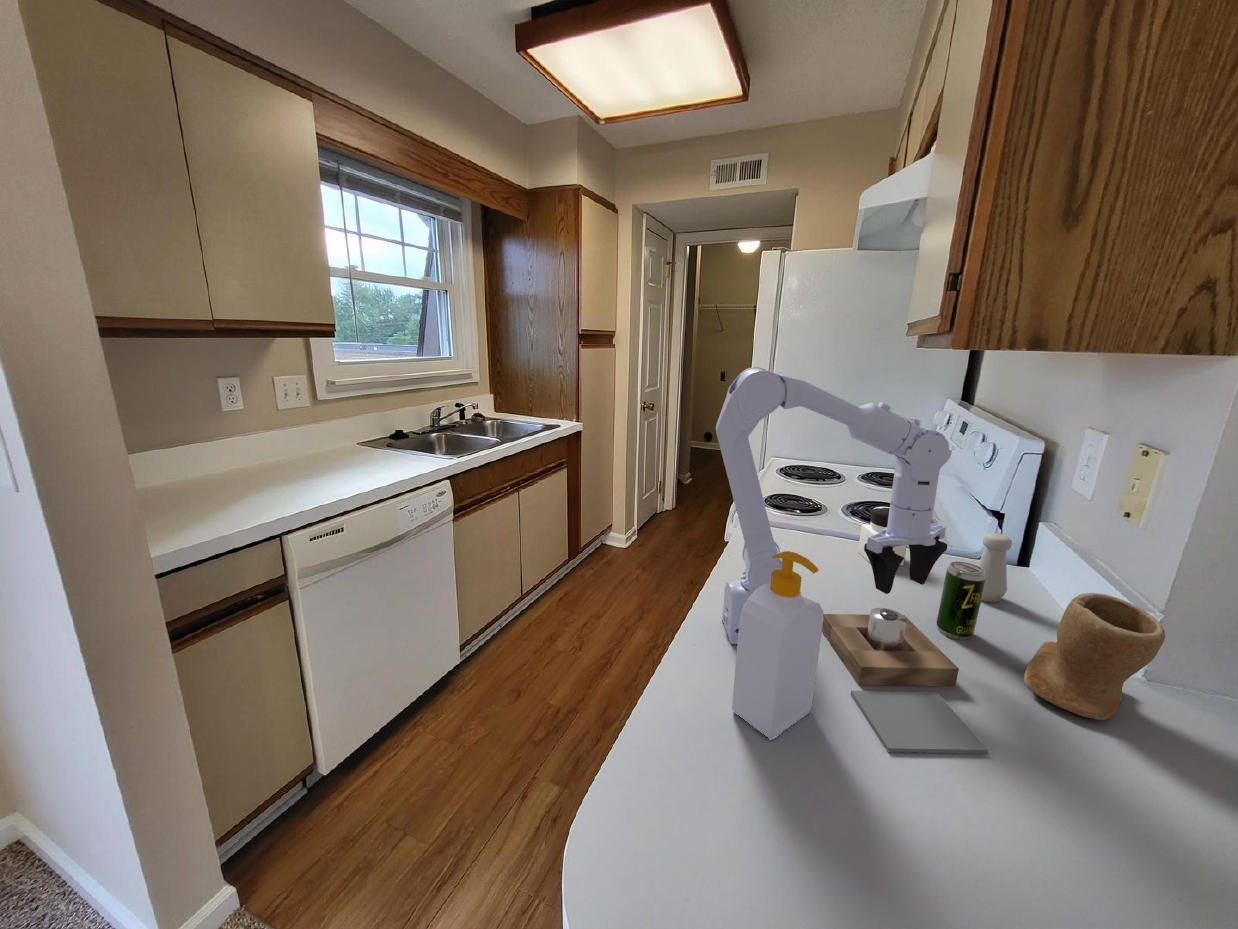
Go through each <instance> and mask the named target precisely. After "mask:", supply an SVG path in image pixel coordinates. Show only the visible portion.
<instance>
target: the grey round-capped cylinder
mask: <svg viewBox="0 0 1238 929" xmlns="http://www.w3.org/2000/svg"><path fill="white" fill-rule="evenodd" d="M869 615H870V618H869V625H868V631H867V637H866V640H867V642H868V643H869V644H870V645H871V647H872V648H873V649H874V650H875V651H902V646H903V640H904V635H905V629H906V624H907V619H906V618H905V616H906V615H905V616H903V615H904V614H902V613H901V612H898V611H896V610H893V609H891V608H885V607H875V608H873V609H870V613H869Z"/></svg>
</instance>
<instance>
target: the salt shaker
mask: <svg viewBox="0 0 1238 929" xmlns="http://www.w3.org/2000/svg"><path fill="white" fill-rule="evenodd" d="M982 544H983V546H985V548H984V551H983V552H982V555H981V557H980V560H979V562H978V564H977V566H979V567H981V568H983V569H984V570H985V577H986V581H985V585H984V590H983V594H982V599H981V602H983V603H984V602H985V603H990V604H991V603H992V604H995V603H997V602H999V601H1000V600H1001V599H1002V598H1003V597H1004V596H1005V595H1006V593H1007V590H1008V583H1007V582H1008V581H1007V580H1008V579H1007V578H1008V576H1007V570H1008V569H1007V551H1010V550H1011V548H1012V545H1013V540H1012V539H1011V538H1010V537H1009V536H1007V535H1004V534H1001V533H995V532H989V533H986V534H985V535H984V537H983V540H982Z"/></svg>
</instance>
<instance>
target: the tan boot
mask: <svg viewBox="0 0 1238 929" xmlns="http://www.w3.org/2000/svg"><path fill="white" fill-rule="evenodd" d="M1165 638H1166V630H1164V627H1163V626H1162V624H1161V623H1160V622H1159V621H1158V620H1157V618H1155V617H1154V616H1153V615H1151V614H1149V613H1148V612H1147V611H1146V610H1144V609H1142V608H1140V607H1138V606H1137V605H1135V604H1133V603H1131V602H1129V601H1126V600H1124V599H1123V598H1122V599H1121V598H1119V597H1116V596H1112V595H1109V594H1104V593H1097V592H1087V593H1086V592H1085V593H1080V594H1078V595H1077V596H1075V597H1073V598H1072V599H1071V601H1069V603H1068V605H1067V607H1066V608H1065V610H1064V612H1063V614H1062V617H1061V619H1060V622H1059V624H1058V626H1057V631H1056V641H1045V642H1043V643H1042V644H1041V645H1040V646H1039V648H1038V649H1037V650H1036V651H1035V653H1034V655H1033V657H1032V658H1031V660H1030V662H1028V665H1027V666H1026V669H1025V672H1024V674H1023V680H1024V684H1025V686H1026V687H1027V688H1028V689H1029V690H1030V691H1031V692H1032V693H1034V694H1035V695H1036V696H1037V697H1039V698H1041V699H1043V700H1044V701H1047V702H1048V703H1050V704H1052V705H1053V706H1056V707H1058V708H1060V709H1063V710H1065V711H1067V712H1071V713H1073V714H1076V715H1079V716H1082V717H1085V718H1090V719H1093V720H1095V721H1106V720H1108V719H1110V718H1112V716H1114V714H1116V713H1117V711H1118V709H1119V707H1120V705H1121V700H1122V695H1123V687H1124V683H1125V682H1126V681H1127V680H1128V679H1130V678H1131V677H1132V676H1133V675H1135V674H1136V673H1138V672H1140V670H1142V669H1143V668H1145V667H1146V666H1147V665H1149V664H1150V663H1151V662H1152V661H1153V660H1154V659H1155V657H1156V656H1157V655H1158V653H1159V651H1160V649H1161V647H1162V646H1163V645H1164V641H1165Z"/></svg>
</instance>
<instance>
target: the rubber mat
mask: <svg viewBox="0 0 1238 929" xmlns="http://www.w3.org/2000/svg"><path fill="white" fill-rule="evenodd" d="M850 696H851V697H852V699H853V701H854V702H855V704H856V705H857V707H858V708H859V709H860V711H861V713H862V715H863V716H864V718H865V719H866V721H867V722H868V724H869V725H870V727H871V728H872V730H873V732H874V731H875V732H874V733H875V735H876V736H877V738H878V737H879V738H878V739H879V740H881V741H880V742H881V744H882V743H883V744H884V745H883V744H882V745H883V747H884V749H885V748H886V749H887V750H886V749H885V750H886V752H887V751H889V752H888V753H900V752H908V753H909V752H910V753H911V752H918V753H917V754H963V755H966V754H967V755H970V754H971V755H973V754H974V755H987V754H988V752H989V749H988V748H987V747H986V746H985V745H984V743H983V742H982V741H981V740H980V739H979V738H978V737H977V735H975V733H974V732H973V731H972V730H971V729H970V728H969V726H967V724H966V723H965V722H964V721H963V720H962V718H960V716H959V715H958V714H957V713H956V712H955V711H954V710H953V709H952V708H951V706H950V705H949V704H948V703H947V702H946V701H945V700H944V698H943V697H942V696H941V695H940V694H939V693H938V692H937V691H894V690H892V691H891V690H890V691H889V690H887V691H885V690H882V691H881V690H880V691H879V690H850ZM923 752H924V753H923ZM925 752H926V753H925ZM930 752H931V753H930ZM911 754H912V753H911Z"/></svg>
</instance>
